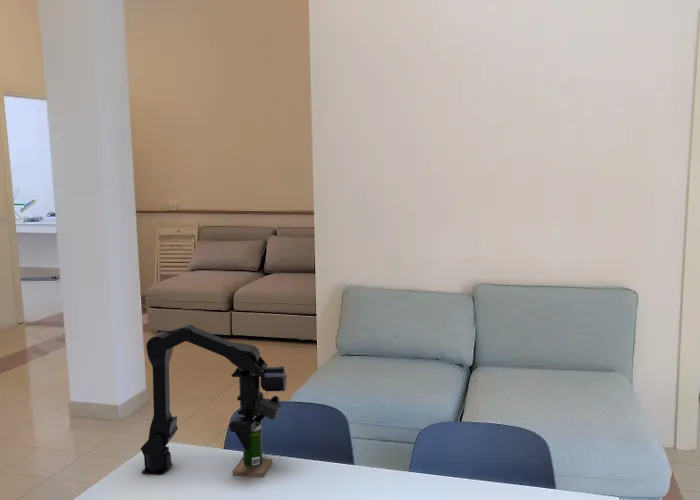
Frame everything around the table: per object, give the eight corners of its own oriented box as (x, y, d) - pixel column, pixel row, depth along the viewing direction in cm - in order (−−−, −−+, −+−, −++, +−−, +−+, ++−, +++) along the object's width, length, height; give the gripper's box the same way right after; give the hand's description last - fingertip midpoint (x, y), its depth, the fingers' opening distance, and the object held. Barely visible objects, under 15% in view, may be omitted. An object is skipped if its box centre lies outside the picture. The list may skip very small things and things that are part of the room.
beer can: (266, 465, 183) (265, 424, 182) (249, 470, 180) (248, 429, 179) (256, 459, 187) (255, 419, 186) (240, 464, 184) (239, 423, 183)
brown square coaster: (232, 478, 180) (232, 471, 180) (242, 463, 189) (242, 457, 189) (263, 479, 179) (263, 472, 179) (272, 465, 188) (272, 458, 187)
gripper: (267, 403, 171) (269, 459, 173) (286, 381, 189) (287, 432, 191) (227, 401, 173) (229, 457, 174) (249, 380, 191) (251, 431, 193)
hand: (251, 444), depth 183 cm, fingers open, 8 cm apart
